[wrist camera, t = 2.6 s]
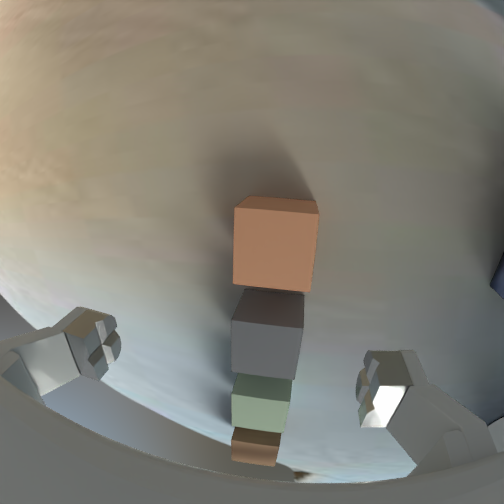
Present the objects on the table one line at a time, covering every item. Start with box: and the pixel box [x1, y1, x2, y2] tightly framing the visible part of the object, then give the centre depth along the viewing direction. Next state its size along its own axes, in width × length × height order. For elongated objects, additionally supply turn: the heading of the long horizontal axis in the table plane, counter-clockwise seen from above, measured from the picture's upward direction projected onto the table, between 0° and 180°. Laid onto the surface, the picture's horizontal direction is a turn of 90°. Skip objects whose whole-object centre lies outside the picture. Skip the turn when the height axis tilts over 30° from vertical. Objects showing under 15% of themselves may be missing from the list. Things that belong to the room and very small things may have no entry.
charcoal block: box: [231, 289, 304, 380], centre depth 22 cm, size 5×5×5 cm
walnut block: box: [231, 426, 281, 466], centre depth 28 cm, size 5×5×5 cm
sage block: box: [231, 373, 292, 433], centre depth 25 cm, size 5×5×5 cm
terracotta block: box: [233, 196, 319, 292], centre depth 20 cm, size 5×5×5 cm
